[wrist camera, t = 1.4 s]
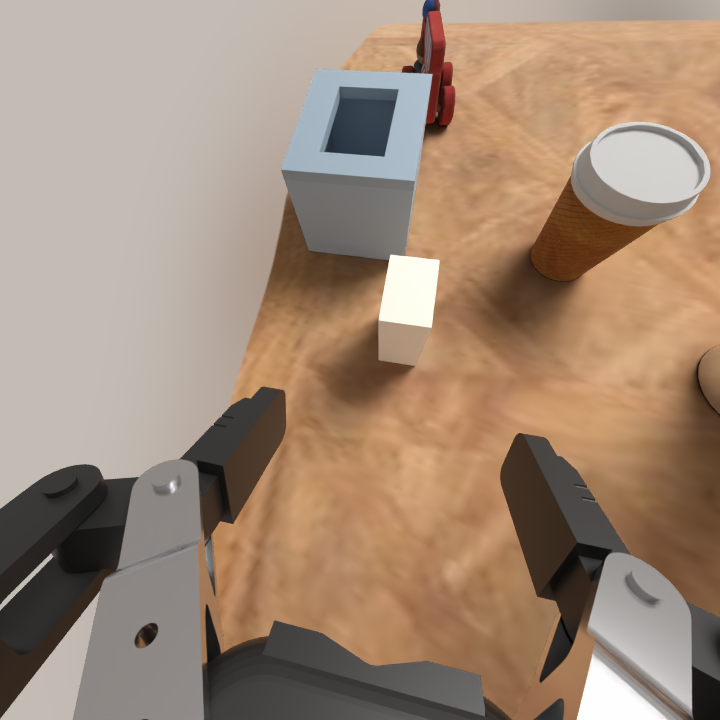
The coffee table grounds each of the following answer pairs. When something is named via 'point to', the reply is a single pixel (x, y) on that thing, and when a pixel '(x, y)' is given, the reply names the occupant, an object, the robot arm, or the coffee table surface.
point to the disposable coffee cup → (619, 195)
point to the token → (407, 308)
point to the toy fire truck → (435, 65)
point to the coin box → (358, 160)
